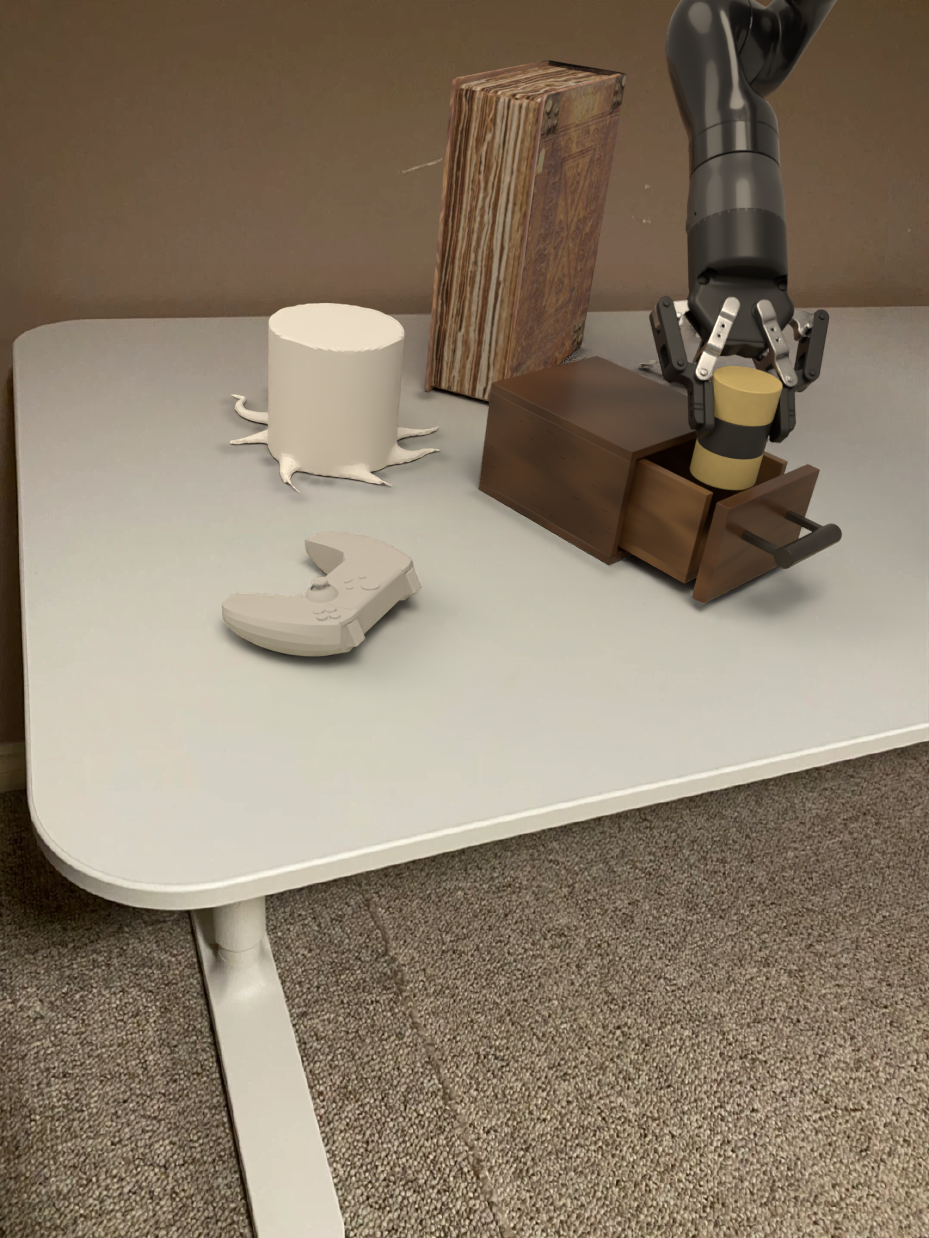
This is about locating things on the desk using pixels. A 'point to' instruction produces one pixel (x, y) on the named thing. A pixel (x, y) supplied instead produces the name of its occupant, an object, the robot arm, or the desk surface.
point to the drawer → (720, 521)
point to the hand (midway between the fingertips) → (742, 436)
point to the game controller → (327, 598)
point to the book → (519, 220)
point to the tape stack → (737, 428)
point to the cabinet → (577, 446)
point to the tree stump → (333, 392)
